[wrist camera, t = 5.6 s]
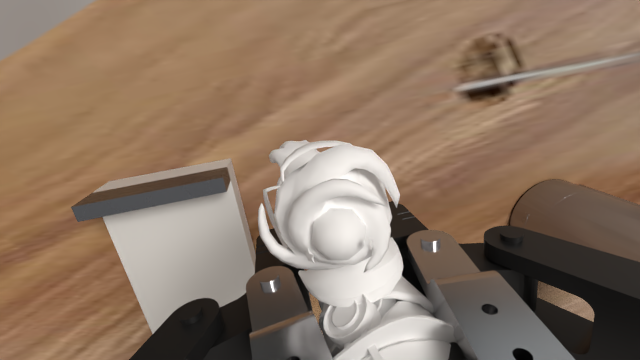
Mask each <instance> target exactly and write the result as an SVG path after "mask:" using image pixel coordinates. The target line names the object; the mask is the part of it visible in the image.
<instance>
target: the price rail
mask: <svg viewBox="0 0 640 360" xmlns="http://www.w3.org/2000/svg"><path fill="white" fill-rule="evenodd" d="M230 181H231V179H230V175H229V172H228V168H227V167H224V168H219V169H214V170H208V171H203V172H198V173H193V174H188V175H182V176H177V177H172V178H167V179H162V180H157V181H151V182H146V183H141V184H136V185H131V186H126V187H120V188H115V189H110V190H105V191H100V192H95V193H91V194H90V195H88V196H87V197H85V198H84V199H83V200H81V201H80V202H78V203H77V204H75V205H74V206H72V207H71V208H72V210H73V212H74V214H75V217H76V219H77V221H78V222H79V221H84V220H89V219H94V218H99V217H104V216H109V215H114V214H119V213H124V212H129V211H134V210H139V209H144V208H149V207H154V206H159V205H164V204H169V203H174V202H179V201H184V200H189V199H194V198H199V197H204V196H209V195H213V194H218V193H223V192H227V190H228V187H229V184H230Z"/></svg>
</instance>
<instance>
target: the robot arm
mask: <svg viewBox="0 0 640 360" xmlns="http://www.w3.org/2000/svg"><path fill="white" fill-rule="evenodd" d="M389 206H390V210H391V214H392V220H391V223H390V227H391V234H390V238H391V237H392V238H393V239H394V241H395V242H396V244H397V246H398V248H399V251H400V253H401V256H402V260H403V271H402V276H403V277H404V278H405V279H406V280H407V281H408V282H409V283H410V284H412V285H413V286H414V287H415V288H416V289H417V290H418V291H419V292H421V293H422V294H423V295H424V296H425V297H426V298H427V299H428V300H429V301H430V302H431V303H432V305H433V308H434V310H433V313H432V314H433V315H434V317H435V318H436V319H439V320H442V321H444V322H446V323H448V324H450V325H452V326H453V328H454V334H453V336H454V337H455V339H456V341H457V343H456V342H450V344H451V348H450V354H449V359H448V360H640V205H639V204H636V203H633V202H630V201H627V200H624V199H621V198H618V197H615V196H613V195H610V194H607V193H604V192H601V191H598V190H595V189H592V188H589V187H586V186H584V185H576V184H573V183H570V182H567V181H564V180H560V179H552V180H547V181H544V182H541V183H539V184H537V185H535V186H534V187H532V188H531V189H529V190H528V191H527V192H526V193H525V194H524V195H523V196H522V197H521V199H520V200H519V201H518V203H517V204H516V206H515V208H514V210H513V213H512V216H511V221H510V226H497V227H493V228H490V229H489V230H487V231H486V232H485V234H484V243H472V244H458V243H457V242H456V240H455V239H454V238H453V237H452V236H451V235H449V234H447V233H445V232H442V231H438V230H428V229H427V228H426V227H425V226H424V225H423V224H422V223H421V222H420V221H419V220H418V219H417V218H416V217H414V215H413V214H412V213H411V212H409V211H408V210H407V209H406V208H405V207H404V206H403V205H401V204H398V205H397V208H396V206H395V204H394V202H393V201H392V202H389ZM269 231H270V233H271V234H272V236H273V237H274V239H275V240H276V241H277V243H278V244H280V245H282V243H281V241H280V239H279V237H278V236H277V234H276V231H275V229H274V228H273V229H269ZM282 246H283V245H282ZM256 247H257V248H256V260H255V274H254V275H253V276H252V277H251V278H250V279H249V280H248V282H247V284H246V293H245V294H244V295H243V296H241V297H240V298H238V299H236V300H234V301H232V302H230V303H228V304H226V305H224V306H222V307H219V304H218V302H217V301H216V300H214V299H211V298H200V299H196V300H193V301H190V302H188V303H186V304H184V305H182V306H181V307H179V308H178V309H177V310H175V311H174V312H173V313H172V314H171V315H170V316H169V317H168V318H167V319H166V320H165V321H164V323H163V324H162V325H161V326H160V327H159V328H158V329H157V330H156V331H155V332H154V333H153V335H152V336H151V337H150V338H149V339H148V340H147V341H146V342H145V343H144V344H143V345H142V346H141V348H140V349H139V350H138V351H137V352H136V353H135V354H134V355H133V356H132V357H131V358H130V359H129V360H333V358H332V355H331V353H330V351H329V348H328V346H327V344H326V341H325V339H324V337H323V334H322V332H321V330H320V327H319V325H318V323H317V320H316V318H315V316H314V314H313V311H312V306H311V301H310V296H309V291H308V290H307V288H306V287H305V285H304V283H303V281H302V279H301V278H300V276H299V274H298V272H299V270H302V271H305V270H304V269H299V268H295V267H293V266H291V265H288V264H286V263H284V262H282V261H281V260H279V259H278V258H277V257H275V256H274V255H272V254H271V253H270V252H269V250H268V249H267V247H266V245H265V244H264V242H263V240H262V239H261V237H260V235H259V237H258V238H257V243H256ZM538 280H539V281H541V282H544V283H546V284H549V285H551V286H554V287H556V288H559V289H561V290H564V291H566V292H569V293H571V294H574V295H576V296H578V297H580V298H582V299H584V300H585V301H586V302H587V303H589V305H590V306H591V307H592V309H593V311H594V314H595V317H594V322H592V321H590V320H587V319H585V318H583V317H580V316H578V315H576V314H574V313H571V312H569V311H567V310H565V309H562V308H560V307H558V306H555V305H553V304H551V303H549V302H546V301H544V300H542V299H540V298H537V288H538Z"/></svg>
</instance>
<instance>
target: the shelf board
mask: <svg viewBox="0 0 640 360" xmlns="http://www.w3.org/2000/svg"><path fill="white" fill-rule="evenodd" d="M224 167H227V168H228V172H229V175H230V179H231V181H230V184H229V187H228V190H227V192H223V193H218V194H213V195H209V196H204V197H199V198H194V199H189V200H184V201H179V202H174V203H169V204H164V205H159V206H154V207H149V208H144V209H139V210H134V211H129V212H124V213H119V214H114V215H109V216H104V217H103V220H104V222H105V224H106V227H107V229H108V231H109V234H110V236H111V238H112V241H113V243H114V245H115V248H116V250H117V252H118V255H119V257H120V259H121V262H122V264H123V266H124V269H125V271H126V273H127V276H128V278H129V280H130V283H131V285H132V287H133V290H134V292H135V294H136V297H137V299H138V301H139V304H140V306H141V308H142V311H143V313H144V315H145V318H146V320H147V322H148V324H149V327H150V329H151V331H152V334H153V333H154V332H155V331H156V330H157V329H158V328H159V327H160V326H161V325H162V324H163V323H164V321H165V320H166V319H167V318H168V317H169V316H170V315H171V314H172V313H173V312H174V311H175V310H177V309H178V308H179V307H181V306H182V305H184V304H186V303H188V302H190V301H193V300H196V299H200V298H211V299H214V300H216V301H217V302H218V304H219V307H222V306H224V305H226V304H228V303H230V302H232V301H234V300H236V299H238V298H240V297H241V296H243V295H244V294H245V293H246V284H247V282H248V280H249V279H250V278H251V277H252V276H253V275H254V274H255V260H256V254H255V250H254V246H253V242H252V238H251V234H250V231H249V227H248V223H247V219H246V215H245V211H244V207H243V204H242V200H241V196H240V192H239V188H238V184H237V180H236V177H235V173H234V169H233V165H232V161H231V158H229V159H224V160H219V161H214V162H208V163H203V164H198V165H193V166H187V167H182V168H177V169H172V170H167V171H161V172H156V173H151V174H146V175H140V176H135V177H130V178H125V179H119V180H114V181H109V182H107V183H106V184H105V185H103V186H102V187H100V188H99V189H97V190H96V191H94V192H93V193H95V192H100V191H105V190H110V189H115V188H120V187H126V186H131V185H136V184H141V183H146V182H151V181H157V180H162V179H167V178H172V177H177V176H182V175H188V174H193V173H198V172H203V171H208V170H214V169H219V168H224Z"/></svg>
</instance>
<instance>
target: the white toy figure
mask: <svg viewBox="0 0 640 360" xmlns="http://www.w3.org/2000/svg"><path fill="white" fill-rule="evenodd" d="M332 146H335V147H333V148H330V149H328V150H326V151H323V152H321V153H320V152H318V151H317V150H316V148H322V147H332ZM269 158H270V161H271V162H272V163H277V164H278V165H279V166H280V171H281V176H280V178H279V179H278V183H277V186H273V187H269V188H266V189H264V190H263V196H264V202H265V205H266V209H267V212H268V215H269V218H270V221H271V223H272V225H273V227H274V229H275V231H276V234H277V236H278V237H279V239H280V241H281V243H282V245H283V246H282V245H280V244H278V243H277V241H276V240H275V239H274V237H273V236H272V234H271V233H270V231H269V227H268V224H267V220H266V215H265V210H264V207H263V204H262V203H261V205H260V208H259V211H258V227H259V233H260V237H261V239H262V240H263V242H264V244H265V245H266V247H267V249H268V250H269V252H270V253H271V254H272V255H274V256H275V257H277V258H278V259H279V260H281V261H282V262H284V263H286V264H288V265H291V266H293V267H295V268H299V269H308V270H307V271H302V270H299V272H298V274H299V276H300V278H301V279H302V281H303V283H304V285H305V287H306V288H307V290H308V291H309V292H310V293H311V294H312V295H313V296H314V297H315V298H317V299H318V301H319V304H320V308H321V310H322V312H321V314H320V319H319V326H320V329H321V330H322V332H323V336H324V339H325V341H326V344H327V346H328V348H329V351H330V353H331V355H332V358H333V360H448V359H449V354H450V348H451V344H450V342H456V343H457V341H456V339H455V337H454V336H453V334H454V328H453V326H452V325H450V324H448V323H446V322H444V321H442V320H439V319H436V318H435V317H434V315H433V314H432V313H433V310H434V308H433V305H432V303H431V302H430V301H429V300H428V299H427V298H426V297H425V296H424V295H423V294H422V293H421V292H419V291H418V290H417V289H416V288H415V287H414V286H413V285H412V284H410V283H409V282H408V281H407V280H406V279H405V278H404V277H403V276H402V271H403V260H402V256H401V253H400V251H399V248H398V246H397V244H396V242H395V241H394V239H393V238H392V237H391V238H390V234H391V227H390V223H391V220H392V214H391V210H390V206H389V202H388V199H387V196H386V192H385V188H386V189H387V191H388V193H389V194H390V196H391V198H392V200H393V202H394V204H395V206H396V208H397V205H398V201H399V197H400V194H399V191H398V188H397V186H396V183H395V180H394V178H393V176H392V174H391V172H390V170H389V168H388V166H387V164H386V163H385V162H384V161H383V160H382V159H381V158H380V157H379V156H378V155H377V154H376V153H375V152H374V151H373V150H371V149H366V148H361V147H357V146H353V145H352V144H351V143H346V142H341V141H317V142H311V143H309V142H308V141H307V140H304V141H300V142H297V141H287V142H284V143H283V144H282V145H281V146H280V149H277V150H273V151H272V152H271V153H270V155H269ZM384 186H385V187H384ZM273 189H277V193H276V202H275V212H274V214H273V211H272V208H271V205H270V202H269V199H268V195H267V192H268V191H271V190H273Z"/></svg>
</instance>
